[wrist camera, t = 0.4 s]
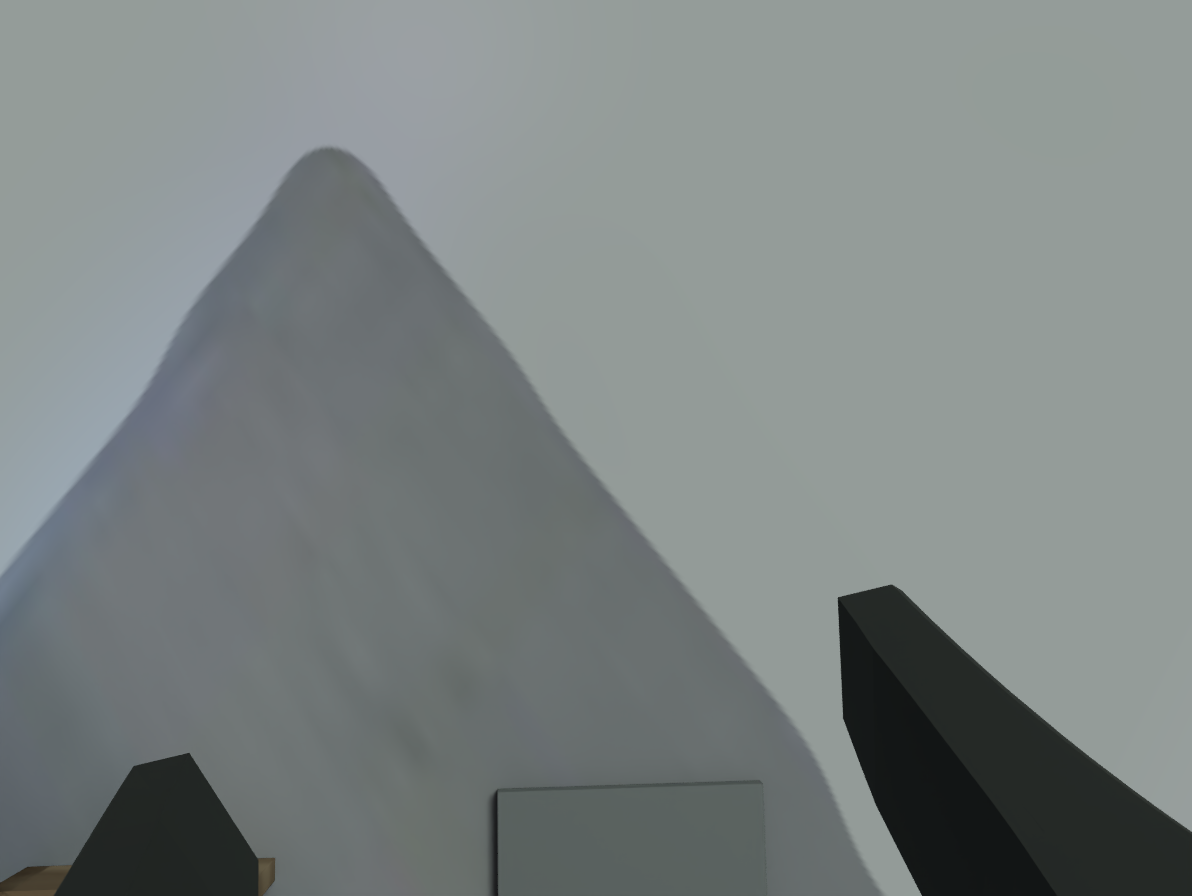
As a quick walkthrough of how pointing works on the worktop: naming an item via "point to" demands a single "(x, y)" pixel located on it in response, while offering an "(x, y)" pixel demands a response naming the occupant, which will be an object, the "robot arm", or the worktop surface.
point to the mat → (633, 840)
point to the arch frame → (37, 885)
